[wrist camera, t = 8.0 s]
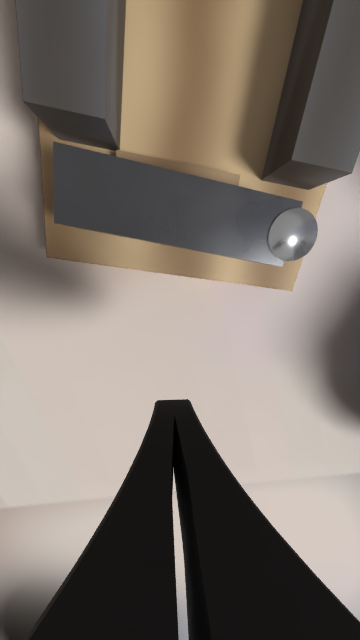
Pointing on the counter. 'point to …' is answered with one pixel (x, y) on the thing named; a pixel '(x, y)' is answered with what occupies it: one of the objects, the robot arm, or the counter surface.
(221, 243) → the hinged leg
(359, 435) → the counter surface
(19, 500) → the counter surface
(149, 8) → the wooden board with bars
